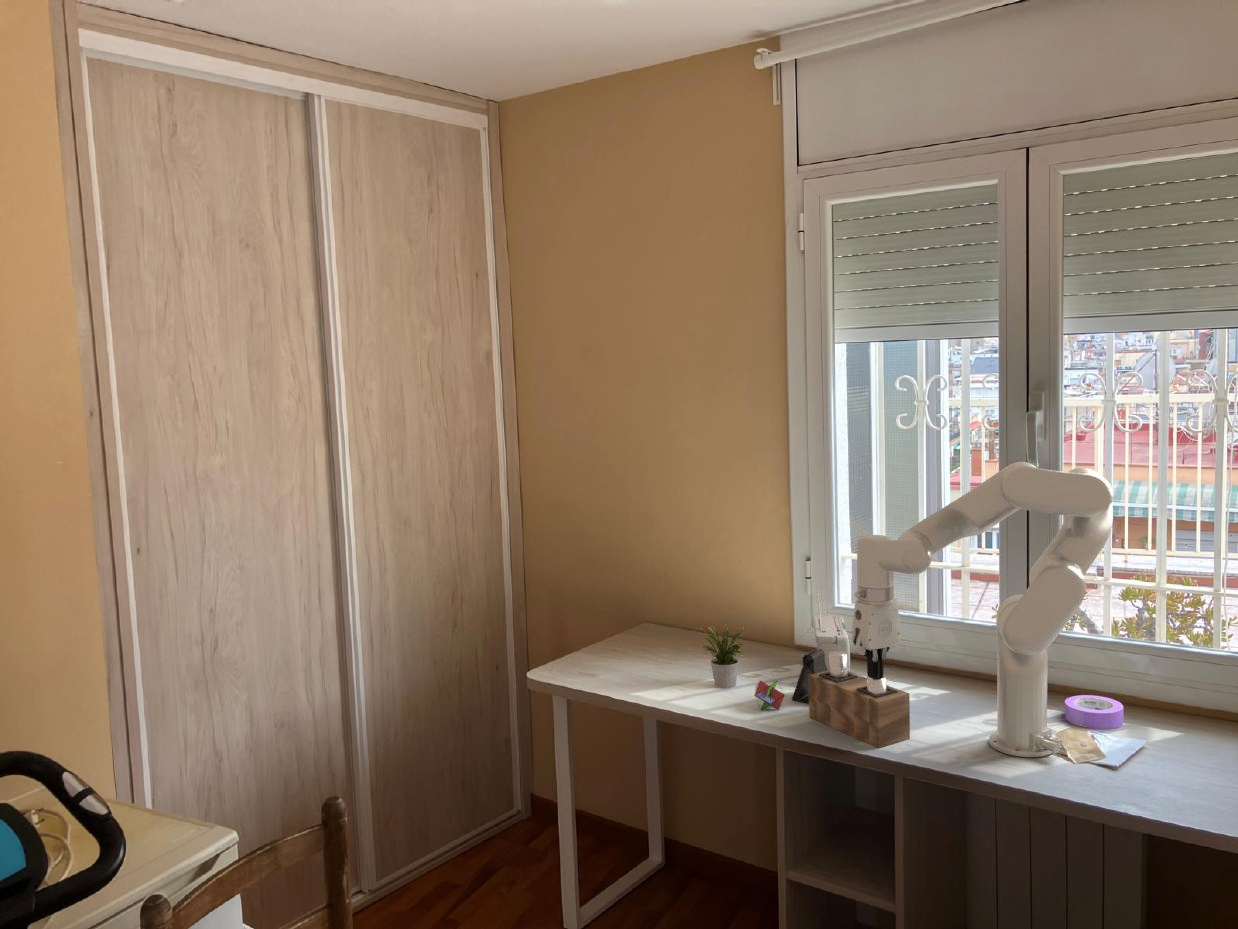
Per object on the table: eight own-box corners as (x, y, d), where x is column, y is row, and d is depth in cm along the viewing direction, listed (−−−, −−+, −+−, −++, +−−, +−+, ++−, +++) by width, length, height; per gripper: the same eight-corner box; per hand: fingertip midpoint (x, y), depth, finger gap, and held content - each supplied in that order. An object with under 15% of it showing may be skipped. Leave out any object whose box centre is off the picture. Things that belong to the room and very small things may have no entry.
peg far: (851, 693, 222) (851, 654, 221) (838, 696, 220) (837, 657, 219) (839, 688, 226) (838, 649, 225) (826, 691, 224) (825, 653, 223)
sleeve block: (909, 738, 211) (909, 691, 210) (878, 748, 207) (878, 700, 206) (839, 709, 230) (838, 665, 229) (809, 717, 226) (808, 673, 225)
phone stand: (791, 700, 237) (790, 652, 236) (803, 693, 242) (802, 645, 241) (826, 707, 232) (825, 657, 231) (837, 700, 237) (836, 651, 235)
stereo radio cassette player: (850, 688, 244) (849, 609, 242) (816, 688, 246) (815, 609, 243) (845, 662, 265) (843, 589, 263) (813, 662, 266) (812, 589, 264)
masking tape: (1054, 720, 219) (1055, 703, 218) (1079, 707, 226) (1079, 691, 226) (1108, 734, 210) (1109, 717, 209) (1132, 720, 217) (1132, 703, 217)
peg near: (890, 718, 212) (890, 678, 211) (877, 722, 210) (876, 681, 209) (877, 713, 216) (876, 673, 215) (863, 717, 214) (863, 676, 213)
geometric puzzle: (796, 698, 232) (777, 669, 234) (783, 707, 227) (764, 677, 229) (774, 712, 236) (755, 683, 238) (761, 721, 230) (742, 691, 233)
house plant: (687, 693, 245) (685, 629, 243) (696, 675, 259) (694, 614, 257) (745, 696, 242) (743, 631, 240) (751, 677, 255) (749, 616, 253)
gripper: (861, 602, 203) (861, 688, 205) (913, 592, 210) (913, 675, 212) (836, 595, 210) (836, 679, 212) (888, 585, 217) (888, 666, 219)
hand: (875, 677), depth 212 cm, fingers closed
